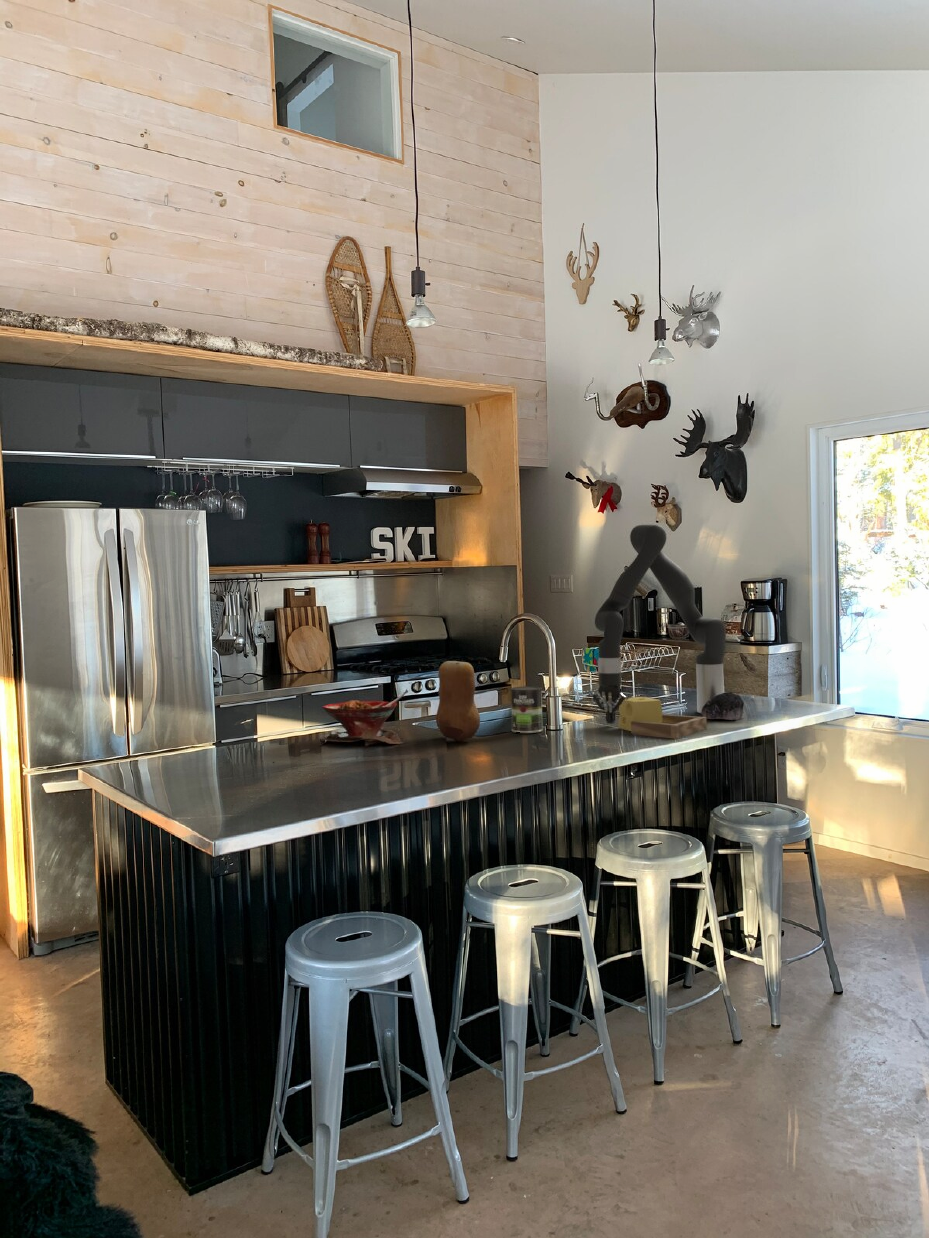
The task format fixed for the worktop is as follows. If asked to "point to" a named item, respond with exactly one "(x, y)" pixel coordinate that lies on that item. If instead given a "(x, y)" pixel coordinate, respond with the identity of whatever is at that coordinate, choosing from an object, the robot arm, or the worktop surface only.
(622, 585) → the robot arm
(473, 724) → the butternut squash
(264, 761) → the worktop surface
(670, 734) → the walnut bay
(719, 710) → the dark brown rock
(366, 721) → the stew
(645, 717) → the cheese
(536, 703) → the coffee can
